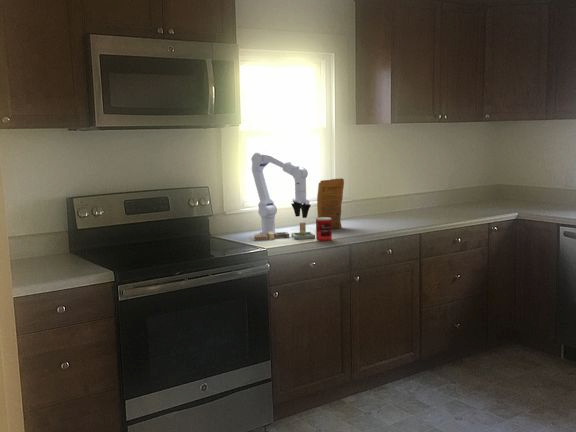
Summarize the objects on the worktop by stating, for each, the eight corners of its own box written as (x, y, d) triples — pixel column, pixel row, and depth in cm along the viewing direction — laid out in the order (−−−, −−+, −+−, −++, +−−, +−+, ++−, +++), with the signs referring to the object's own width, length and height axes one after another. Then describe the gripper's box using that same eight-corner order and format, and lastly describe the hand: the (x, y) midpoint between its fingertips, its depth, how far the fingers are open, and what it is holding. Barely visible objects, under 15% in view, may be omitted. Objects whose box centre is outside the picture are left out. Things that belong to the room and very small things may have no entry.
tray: (291, 236, 339) (291, 232, 338) (310, 235, 340) (310, 231, 340) (295, 239, 327) (295, 236, 326) (315, 238, 328) (315, 235, 328)
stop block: (267, 237, 337) (267, 231, 336) (272, 237, 337) (272, 231, 337) (269, 239, 329) (269, 233, 328) (274, 239, 329) (274, 233, 329)
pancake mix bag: (348, 227, 364) (347, 178, 361) (320, 231, 354) (318, 180, 351) (341, 226, 370) (340, 177, 366) (313, 229, 360) (312, 179, 357)
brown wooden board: (254, 238, 336) (254, 234, 336) (266, 238, 337) (265, 233, 336) (255, 241, 327) (254, 236, 327) (266, 240, 328) (266, 236, 328)
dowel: (299, 236, 334) (299, 222, 334) (305, 235, 335) (304, 222, 334) (300, 236, 331) (300, 223, 331) (306, 236, 332) (306, 223, 331)
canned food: (322, 238, 328) (321, 216, 327) (335, 239, 323) (334, 217, 322) (313, 240, 322) (312, 218, 321) (326, 241, 317) (325, 219, 316)
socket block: (274, 236, 340) (273, 232, 339) (287, 235, 341) (287, 232, 340) (275, 238, 333) (275, 234, 332) (289, 237, 334) (289, 233, 334)
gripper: (287, 190, 341) (287, 216, 343) (300, 192, 329) (301, 219, 330) (299, 190, 345) (299, 215, 346) (312, 191, 332) (313, 217, 333)
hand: (301, 217), depth 338 cm, fingers open, 7 cm apart
